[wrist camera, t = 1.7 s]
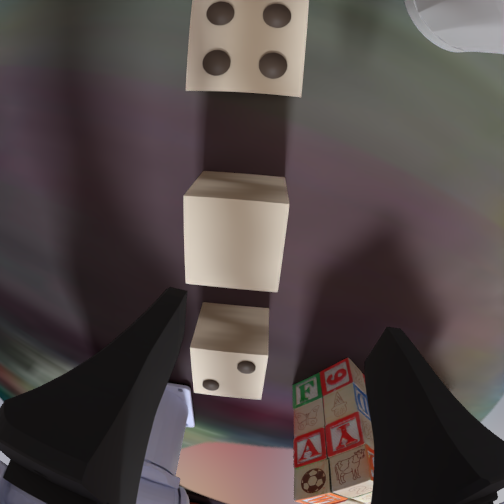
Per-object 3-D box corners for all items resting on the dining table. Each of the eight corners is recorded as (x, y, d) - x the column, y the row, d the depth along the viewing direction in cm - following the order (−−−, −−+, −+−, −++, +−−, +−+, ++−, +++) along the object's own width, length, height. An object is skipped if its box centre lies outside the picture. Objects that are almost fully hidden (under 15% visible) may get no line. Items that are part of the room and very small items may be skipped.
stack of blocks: (416, 429, 33) (436, 506, 23) (376, 447, 35) (388, 523, 25) (347, 355, 26) (371, 482, 15) (289, 384, 28) (292, 503, 17)
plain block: (202, 242, 22) (185, 283, 17) (203, 170, 19) (183, 195, 15) (276, 249, 22) (277, 292, 17) (284, 176, 19) (289, 204, 15)
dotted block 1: (206, 90, 17) (185, 90, 12) (212, 13, 14) (193, -11, 10) (292, 96, 17) (301, 97, 12) (299, 18, 14) (309, -7, 10)
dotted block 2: (204, 347, 26) (193, 393, 22) (203, 301, 24) (189, 348, 19) (262, 352, 26) (260, 400, 22) (269, 307, 24) (268, 356, 19)
